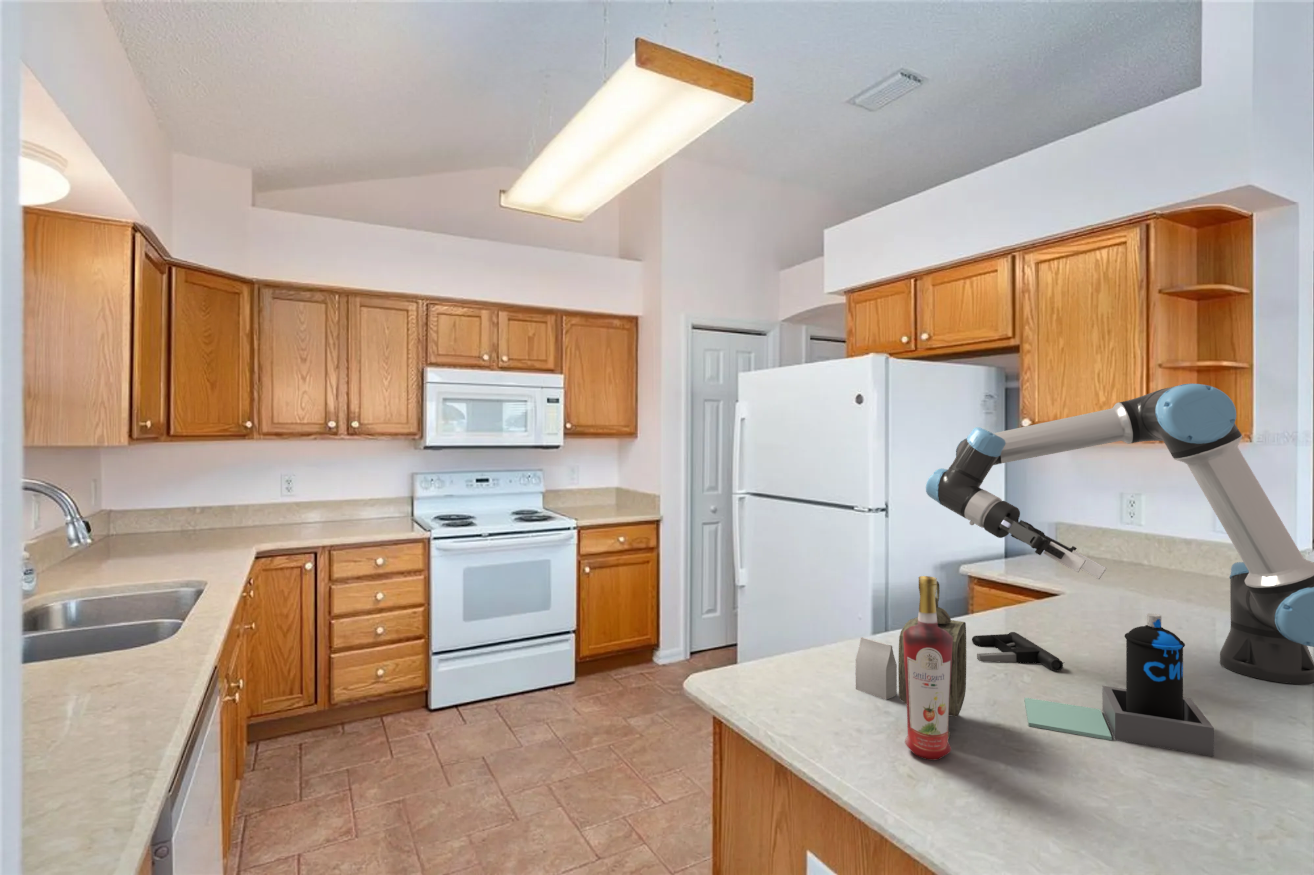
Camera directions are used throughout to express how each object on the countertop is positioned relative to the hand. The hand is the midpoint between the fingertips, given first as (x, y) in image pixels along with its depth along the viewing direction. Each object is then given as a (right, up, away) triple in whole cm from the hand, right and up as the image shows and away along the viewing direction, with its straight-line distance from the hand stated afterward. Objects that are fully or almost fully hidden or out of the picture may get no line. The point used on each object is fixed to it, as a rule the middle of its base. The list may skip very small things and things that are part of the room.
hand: (1092, 570), depth 126 cm
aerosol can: (+1, -25, -15) cm, 29 cm away
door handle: (-4, -25, +23) cm, 34 cm away
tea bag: (-41, -25, +3) cm, 48 cm away
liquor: (-41, -25, -22) cm, 53 cm away
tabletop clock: (-36, -25, -11) cm, 45 cm away
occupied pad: (-11, -25, -10) cm, 29 cm away
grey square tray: (+1, -25, -15) cm, 29 cm away
